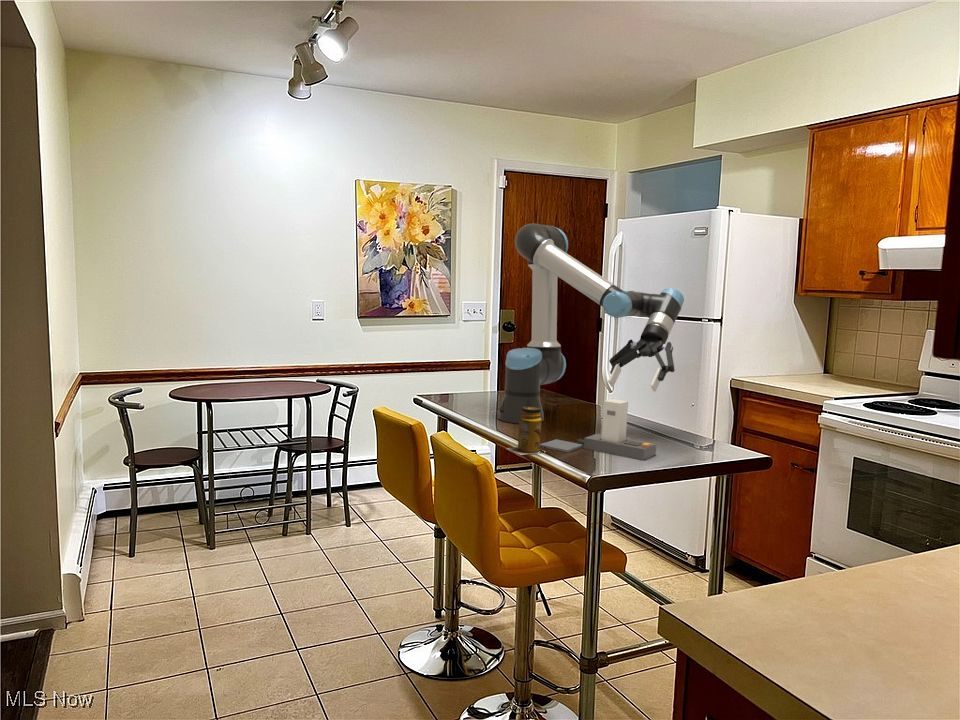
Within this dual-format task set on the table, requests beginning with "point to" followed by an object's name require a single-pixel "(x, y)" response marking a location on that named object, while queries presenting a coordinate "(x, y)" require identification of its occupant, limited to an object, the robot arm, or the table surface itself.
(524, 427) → the condiment
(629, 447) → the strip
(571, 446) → the mat
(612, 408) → the block
